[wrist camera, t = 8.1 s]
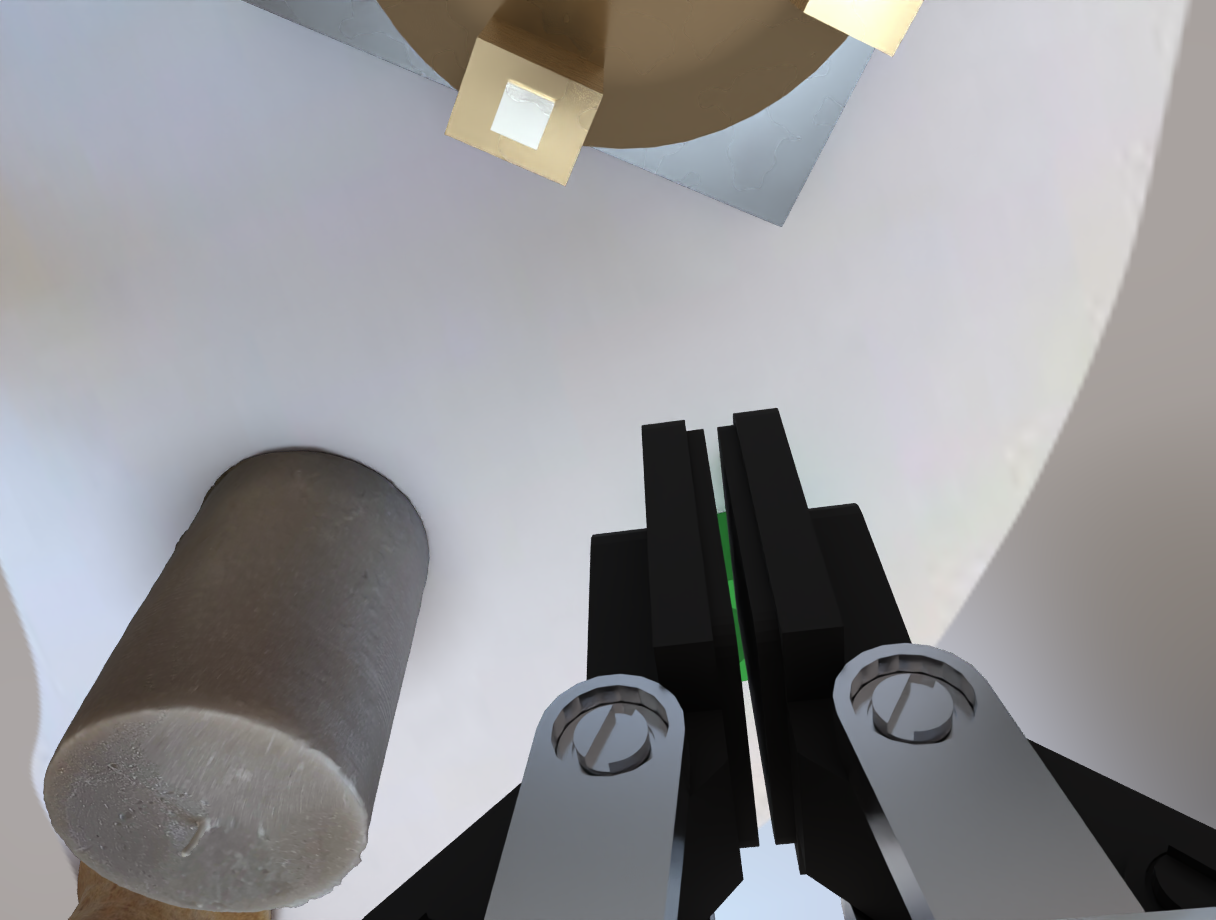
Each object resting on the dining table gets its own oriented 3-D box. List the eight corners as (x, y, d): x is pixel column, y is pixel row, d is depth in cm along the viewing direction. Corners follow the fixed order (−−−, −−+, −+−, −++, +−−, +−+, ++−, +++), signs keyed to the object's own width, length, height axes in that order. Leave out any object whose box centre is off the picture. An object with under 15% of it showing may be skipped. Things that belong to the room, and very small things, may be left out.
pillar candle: (152, 535, 41) (-53, 850, 28) (304, 401, 37) (149, 692, 24) (331, 663, 45) (223, 990, 32) (483, 553, 41) (430, 871, 28)
